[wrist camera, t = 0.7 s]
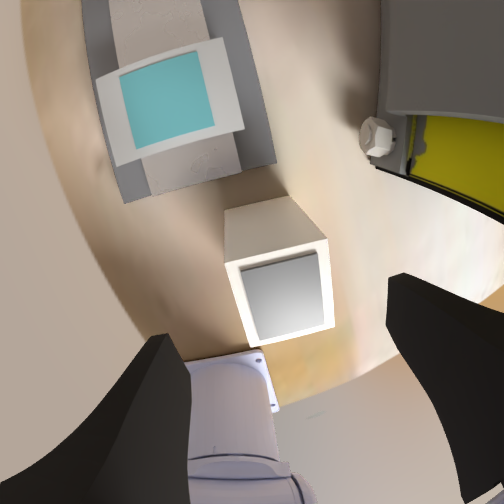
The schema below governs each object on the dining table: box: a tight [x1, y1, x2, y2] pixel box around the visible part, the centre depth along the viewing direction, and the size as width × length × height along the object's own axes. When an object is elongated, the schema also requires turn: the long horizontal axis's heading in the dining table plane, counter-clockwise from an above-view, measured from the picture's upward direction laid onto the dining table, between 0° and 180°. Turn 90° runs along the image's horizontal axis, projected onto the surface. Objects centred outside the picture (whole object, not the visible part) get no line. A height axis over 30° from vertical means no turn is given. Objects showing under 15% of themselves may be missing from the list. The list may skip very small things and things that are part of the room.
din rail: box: [109, 0, 242, 197], centre depth 10 cm, size 21×5×1 cm, turn 12°
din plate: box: [82, 0, 277, 204], centre depth 11 cm, size 21×9×1 cm, turn 12°
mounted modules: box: [96, 37, 245, 167], centre depth 9 cm, size 16×6×2 cm, turn 12°
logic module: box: [224, 196, 335, 348], centre depth 15 cm, size 4×4×7 cm
